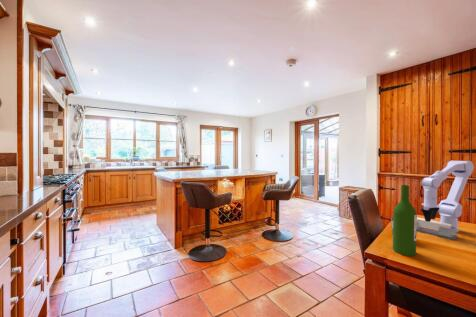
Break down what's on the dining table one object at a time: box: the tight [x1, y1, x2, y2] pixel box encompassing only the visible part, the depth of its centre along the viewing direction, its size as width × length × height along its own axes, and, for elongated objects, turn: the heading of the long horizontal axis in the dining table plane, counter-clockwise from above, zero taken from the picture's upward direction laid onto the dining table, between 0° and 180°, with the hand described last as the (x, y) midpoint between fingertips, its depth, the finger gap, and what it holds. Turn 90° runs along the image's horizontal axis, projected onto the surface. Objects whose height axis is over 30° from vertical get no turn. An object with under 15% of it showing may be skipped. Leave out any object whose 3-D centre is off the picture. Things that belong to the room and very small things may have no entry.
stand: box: [417, 222, 458, 241], centre depth 126 cm, size 8×22×6 cm, turn 32°
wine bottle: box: [392, 184, 418, 257], centre depth 101 cm, size 9×9×32 cm
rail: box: [417, 216, 452, 231], centre depth 126 cm, size 4×18×4 cm, turn 32°
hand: (430, 220), depth 126 cm, fingers open, 7 cm apart
